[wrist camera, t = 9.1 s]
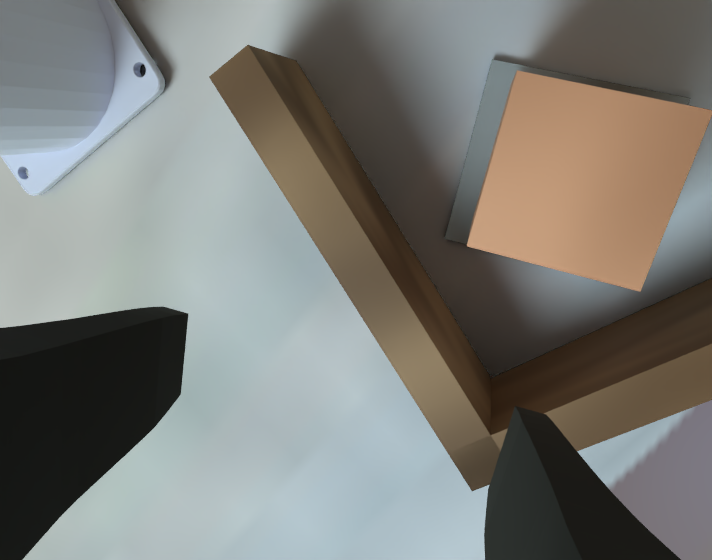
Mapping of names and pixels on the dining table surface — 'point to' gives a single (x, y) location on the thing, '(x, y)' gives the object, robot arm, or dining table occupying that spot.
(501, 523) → the robot arm
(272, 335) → the dining table surface
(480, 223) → the cube
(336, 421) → the dining table surface
